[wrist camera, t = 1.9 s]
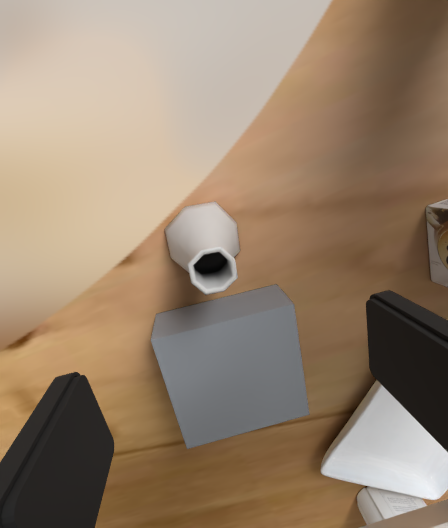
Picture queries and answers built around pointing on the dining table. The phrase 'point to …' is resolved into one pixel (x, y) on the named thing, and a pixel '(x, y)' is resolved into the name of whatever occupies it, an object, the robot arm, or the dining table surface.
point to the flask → (205, 246)
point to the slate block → (231, 364)
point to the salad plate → (387, 450)
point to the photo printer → (385, 504)
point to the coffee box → (438, 241)
